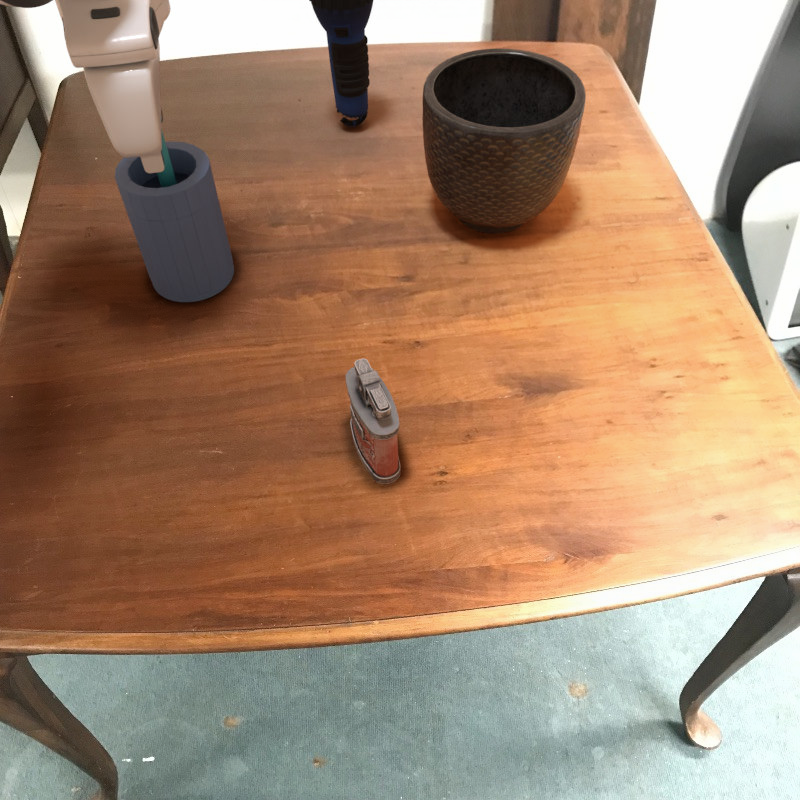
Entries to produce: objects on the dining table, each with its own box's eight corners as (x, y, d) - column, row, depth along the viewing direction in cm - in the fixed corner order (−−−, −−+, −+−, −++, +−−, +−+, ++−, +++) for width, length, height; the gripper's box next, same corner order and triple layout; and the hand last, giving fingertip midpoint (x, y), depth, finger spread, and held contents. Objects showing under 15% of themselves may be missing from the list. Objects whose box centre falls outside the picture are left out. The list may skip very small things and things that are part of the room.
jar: (151, 307, 84) (112, 201, 73) (152, 253, 90) (116, 147, 79) (236, 295, 85) (210, 189, 74) (232, 242, 91) (207, 136, 80)
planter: (451, 272, 87) (458, 146, 75) (402, 185, 97) (400, 62, 85) (588, 238, 90) (617, 113, 78) (526, 158, 101) (543, 36, 88)
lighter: (343, 422, 74) (335, 352, 66) (376, 412, 75) (372, 340, 67) (373, 489, 69) (368, 421, 61) (408, 476, 70) (407, 408, 62)
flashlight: (311, 122, 107) (293, -32, 91) (360, 104, 109) (351, -48, 94) (340, 149, 103) (327, -7, 87) (390, 130, 105) (386, -25, 90)
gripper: (79, -52, 70) (123, 92, 81) (64, 59, 57) (119, 211, 68) (150, -59, 71) (185, 84, 81) (151, 49, 58) (192, 202, 69)
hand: (155, 143), depth 75 cm, fingers open, 7 cm apart
